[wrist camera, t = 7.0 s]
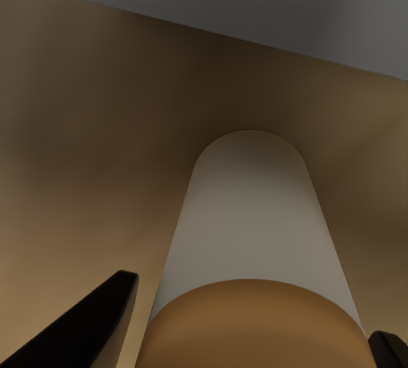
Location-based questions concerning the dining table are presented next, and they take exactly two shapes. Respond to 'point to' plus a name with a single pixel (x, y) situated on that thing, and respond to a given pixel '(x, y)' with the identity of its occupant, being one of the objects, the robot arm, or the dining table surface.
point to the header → (300, 27)
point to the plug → (253, 269)
